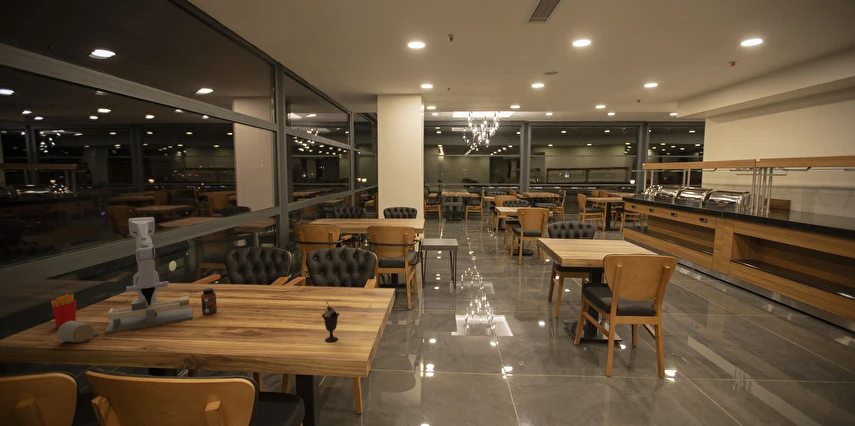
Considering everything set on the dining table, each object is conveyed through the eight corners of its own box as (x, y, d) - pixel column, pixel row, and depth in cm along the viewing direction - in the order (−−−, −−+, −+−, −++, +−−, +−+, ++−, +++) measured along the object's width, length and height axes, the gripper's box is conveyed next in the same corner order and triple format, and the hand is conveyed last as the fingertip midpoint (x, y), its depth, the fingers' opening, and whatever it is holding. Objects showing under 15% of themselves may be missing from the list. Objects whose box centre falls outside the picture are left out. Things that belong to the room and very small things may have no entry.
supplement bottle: (209, 315, 170) (207, 291, 169) (199, 314, 172) (197, 290, 171) (220, 310, 176) (218, 287, 175) (209, 309, 178) (208, 286, 177)
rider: (133, 309, 162) (132, 301, 162) (147, 307, 165) (146, 298, 164) (132, 313, 158) (131, 304, 158) (146, 310, 161) (145, 301, 161)
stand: (111, 322, 162) (110, 308, 162) (192, 309, 178) (191, 296, 177) (104, 334, 150) (103, 318, 150) (192, 319, 166) (191, 305, 166)
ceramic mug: (74, 346, 140) (73, 326, 139) (57, 344, 141) (55, 324, 141) (103, 335, 150) (102, 316, 150) (87, 333, 152) (86, 315, 151)
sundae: (324, 336, 148) (323, 299, 147) (341, 335, 149) (340, 299, 147) (320, 343, 142) (319, 305, 140) (338, 343, 142) (337, 305, 141)
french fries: (70, 321, 164) (67, 292, 163) (80, 320, 164) (77, 292, 163) (50, 329, 155) (47, 299, 154) (61, 329, 155) (58, 299, 154)
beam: (112, 316, 159) (111, 307, 159) (189, 304, 174) (188, 295, 174) (109, 322, 153) (108, 312, 153) (189, 308, 168) (188, 299, 168)
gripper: (124, 279, 155) (127, 310, 156) (166, 274, 162) (169, 304, 164) (126, 275, 160) (129, 305, 162) (167, 270, 168) (169, 299, 170)
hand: (149, 304), depth 163 cm, fingers closed
